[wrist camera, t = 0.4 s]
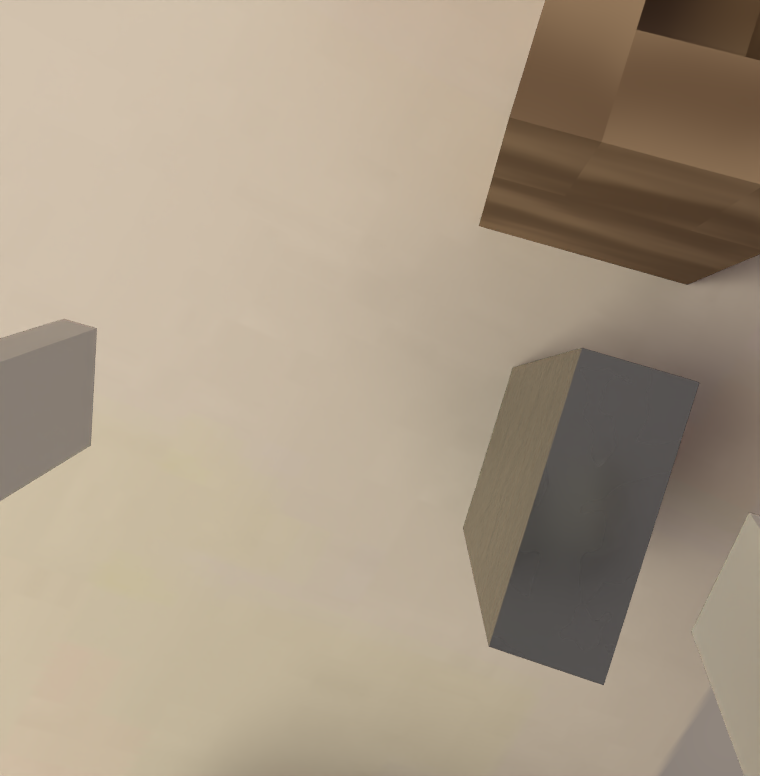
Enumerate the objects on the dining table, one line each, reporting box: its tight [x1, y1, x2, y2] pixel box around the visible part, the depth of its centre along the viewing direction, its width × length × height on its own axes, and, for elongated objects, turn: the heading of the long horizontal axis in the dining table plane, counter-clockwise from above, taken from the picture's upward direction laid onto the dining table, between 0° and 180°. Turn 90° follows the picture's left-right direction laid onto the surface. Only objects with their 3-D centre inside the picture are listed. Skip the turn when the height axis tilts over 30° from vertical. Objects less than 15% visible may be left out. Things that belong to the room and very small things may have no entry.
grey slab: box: [463, 348, 699, 685], centre depth 23 cm, size 8×3×14 cm, turn 163°
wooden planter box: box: [479, 0, 760, 284], centre depth 24 cm, size 16×10×12 cm, turn 163°
